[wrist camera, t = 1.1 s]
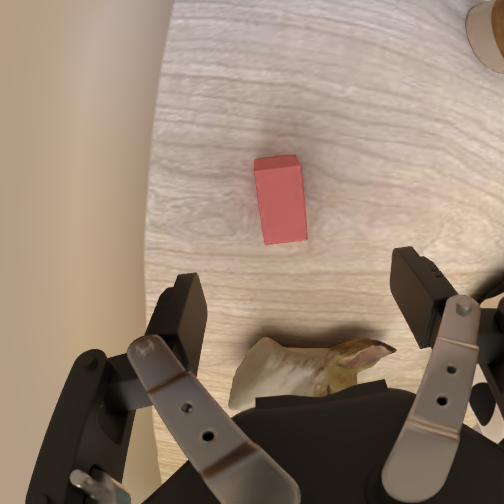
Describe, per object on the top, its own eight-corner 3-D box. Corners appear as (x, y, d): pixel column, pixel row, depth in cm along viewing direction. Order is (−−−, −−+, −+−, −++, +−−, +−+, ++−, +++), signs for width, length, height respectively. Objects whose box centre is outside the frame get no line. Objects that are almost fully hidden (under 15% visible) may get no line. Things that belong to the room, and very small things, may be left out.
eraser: (253, 159, 21) (253, 170, 18) (295, 154, 20) (301, 164, 18) (263, 226, 23) (264, 245, 20) (302, 221, 23) (308, 240, 20)
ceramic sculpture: (245, 388, 19) (422, 393, 21) (242, 302, 26) (389, 324, 29) (216, 449, 24) (361, 449, 27) (218, 376, 31) (344, 387, 34)
